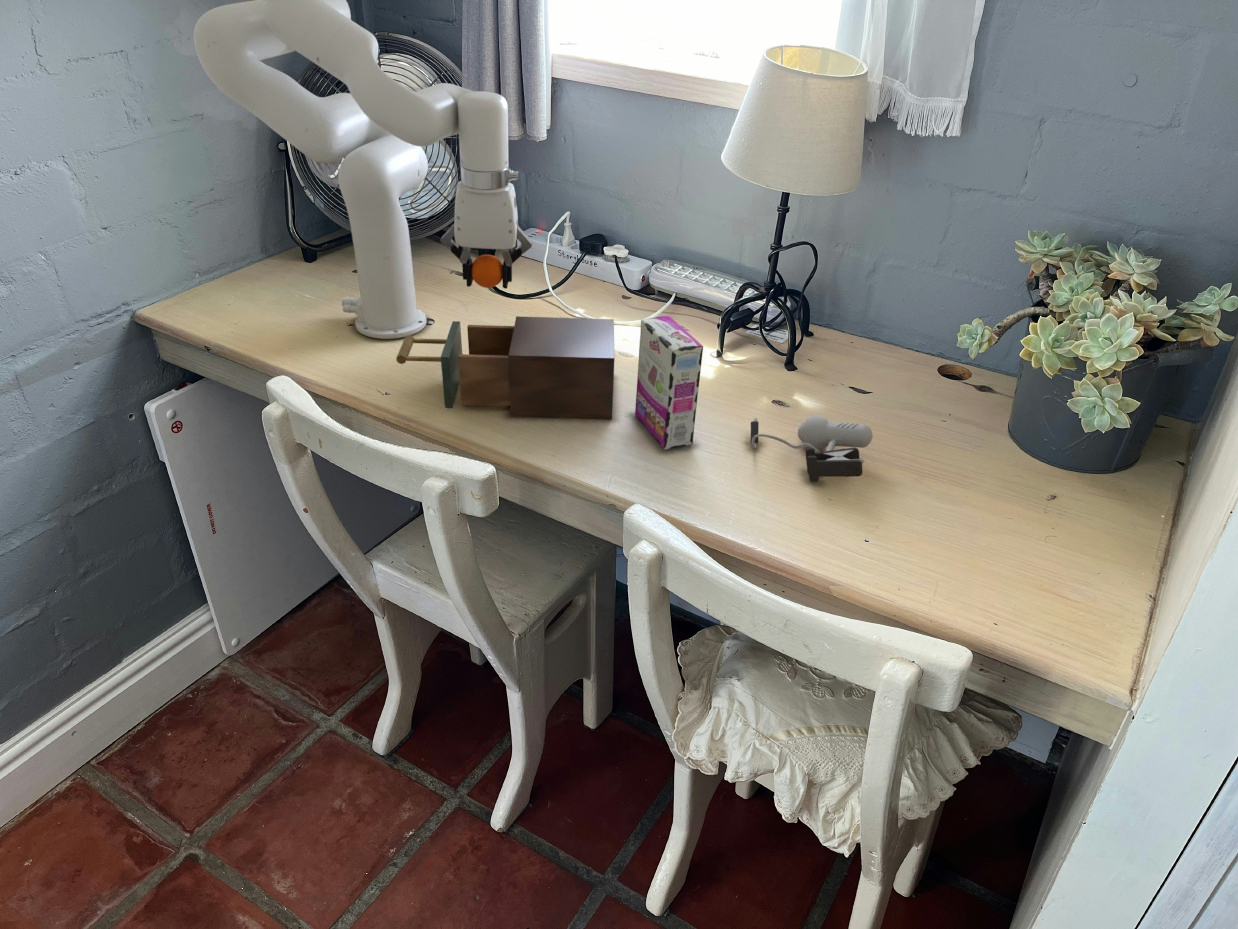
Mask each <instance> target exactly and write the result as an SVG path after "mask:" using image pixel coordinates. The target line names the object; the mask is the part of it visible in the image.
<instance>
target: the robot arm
mask: <svg viewBox="0 0 1238 929" xmlns="http://www.w3.org/2000/svg"><path fill="white" fill-rule="evenodd" d="M193 44H194V48H195V52H196V55H197V58H198V61H199V63H200V65H201V66H202V69H203V70H204V72H205V74H206V76H207V77H208V78H209V80H210V81H211V82H212V83H213V85H215V86H216V87H217V88H218V89H219V91H220V92H222V93H223V94H224V95H225V96H226V97H227V98H229V99H231V100H232V101H233V102H234V103H236V104H238V105H239V106H241V107H242V108H243V109H245V110H246V111H248V112H249V113H250V114H252V115H254V116H255V117H256V118H257V119H259V120H260V121H262V123H264V124H265V125H267V126H268V128H270V129H271V130H272V131H273V132H275V133H276V134H278V135H279V136H280V137H281V138H283V139H284V140H285V141H286V142H288V143H289V144H290V145H292V146H293V147H294V148H295V149H297V150H298V151H299V152H301V153H302V154H303V155H304V156H306V157H307V158H309V159H310V160H311V161H314V162H316V163H319V164H329V163H333V162H336V161H338V160H341V159H342V161H341V163H340V165H339V168H338V173H337V174H338V175H337V177H338V178H337V179H338V186H339V190H340V193H341V196H342V199H343V201H344V204H345V209H346V211H347V215H348V220H349V225H350V232H351V240H352V245H353V252H354V259H355V266H356V274H357V279H358V280H357V281H358V282H357V283H358V289H359V296H360V297H359V298H356V297H349V296H343V297H342V299H341V306H342V311H343V313H348V314H351V313H353V314H355V315H356V317H355V319H354V324H355V328H356V331H358V332H359V334H362V335H364V336H366V337H369V338H373V339H379V340H380V339H381V340H394V339H395V340H396V339H400V338H405V337H406V336H407V335H411V336H413V335H415V334H418V333H419V332H420V331H422V330H423V329H424V328H425V327H426V325H427V324H428V322H427V320H428V319H427V315H426V314H425V312H424V311H422V310H421V309H420V308H417V307H418V306H417V298H416V288H415V278H414V268H413V257H412V248H411V239H410V230H409V224H408V221H407V218H406V215H405V213H404V211H403V209H402V207H401V204H400V198H401V197H402V196H404V195H405V194H407V193H409V192H410V191H413V190H414V189H415V188H417V187H418V186H420V185H421V184H422V183H423V182H424V180H425V179H426V177H427V174H428V170H429V162H428V158H427V155H426V153H425V150H424V149H423V147H429V146H432V145H433V144H436V143H438V142H440V141H442V140H443V139H446V138H449V137H452V136H457V135H458V141H459V142H458V145H459V164H460V165H459V166H460V167H459V168H460V181H458V182H457V184H456V190H455V199H454V219H453V220H454V223H453V224H452V225H451V226H450V227H449V228H448V230H447V231H446V232H444V234H443V235H442V236H441V238H440V243H441V244H442V245H443V246H445V248H447V249H448V250H450V252H451V254H453V255H454V256H455V257H456V258H457V259H458V260H459V262H460V263H461V264H462V265H461V267H462V268H461V269H462V280H464V281H466V287H467V288H468V287H469V288H470V287H471V286H472V284H473V282H474V280H473V278H472V275H471V266H472V264H473V262H474V260H473V258H472V257H471V255H470V254H471V252H472V249H481V250H483V249H484V250H485V249H486V250H500V253H501V255H502V258H503V261H502V262H503V263H502V265H503V266H502V280H501V281H502V288H503V289H508V285H509V283H512V282H513V264H514V263H515V262H516V261H517V260H518V259H519V258H520V257H522V256H523V254H525V253H526V252H528V251H529V250H530V249H531V248H532V247H533V241H532V240H531V239H530V237H529V236H528V235H527V234H526V233H525V231H524V230H523V229H522V228H521V227H520V226H519V216H518V202H517V197H516V191H515V190H516V189H515V187H514V184H513V183H511V182H513V181H518V180H519V171H518V170H516V171H515V170H514V169H511V168H510V164H509V110H508V109H509V106H508V102H507V99H506V98H505V97H504V96H503V95H502V94H500V93H496V92H492V91H483V90H481V91H479V90H478V91H476V90H471V89H468V88H465V87H462V86H460V85H456V84H453V83H450V82H449V83H447V82H440V83H436V84H434V85H431V86H427V87H424V88H422V89H419V90H416V91H412V90H410V89H409V88H407V87H405V86H404V85H402V84H401V83H399V82H398V81H397V80H395V79H394V78H392V77H391V76H390V75H388V74H387V73H386V72H385V71H384V70H383V69H382V68H381V67H380V66H379V64H378V63H377V61H378V58H379V57H378V56H379V43H378V39H377V38H376V36H375V35H374V34H373V32H370V31H369V30H367V29H366V28H364V27H363V26H361V25H359V24H358V23H356V22H355V21H353V20H352V15H351V9H350V6H349V3H348V1H347V0H248V1H242V2H236V3H229V4H224V5H220V6H217V7H214V8H212V9H209V10H208V11H206V12H205V13H204V14H202V15H201V16H200V17H199V19H198V20H197V21H196V23H195V26H194V29H193ZM293 52H297V53H298V54H300V55H302V57H304V58H305V59H307V60H309V61H310V62H312V63H313V64H315V65H316V66H318V67H319V68H320V69H323V70H324V71H325V72H327V73H329V74H330V75H331V76H333V77H334V78H336V79H337V80H339V81H340V82H342V83H343V84H344V85H346V87H347V89H348V90H349V92H339V93H335V94H331V95H328V96H324V97H322V96H317V95H316V94H314V93H312V92H311V91H309V90H307V88H305V87H304V86H302V85H301V84H300V83H299V82H297V81H296V80H295V79H294V78H293V77H291V76H290V75H288V74H286V73H284V72H283V71H280V70H279V69H276V68H274V67H272V66H270V65H267V64H266V63H264V62H262V61H263V60H267V59H271V58H275V57H279V56H283V55H286V54H290V53H293ZM453 238H454V240H453ZM517 240H518V241H519V242H520V244H519V245H518V246H516V244H517Z"/></svg>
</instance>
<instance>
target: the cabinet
mask: <svg viewBox="0 0 1238 929" xmlns="http://www.w3.org/2000/svg"><path fill="white" fill-rule="evenodd" d="M513 326H514V330H513V335H512V340H511V345H510V351H509V383H510V406H509V408H510V410H509V411H510V417H511V418H533V419H534V418H536V419H538V418H539V419H540V418H541V419H573V420H574V419H575V420H576V419H577V420H578V419H579V420H610V421H611V420H613V408H614V407H613V406H614V405H613V404H614V383H615V380H614V379H615V320H614V318H584V317H582V318H580V317H565V318H559V317H550V316H548V317H547V316H517V315H516V316H515V320H514V325H513Z"/></svg>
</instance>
